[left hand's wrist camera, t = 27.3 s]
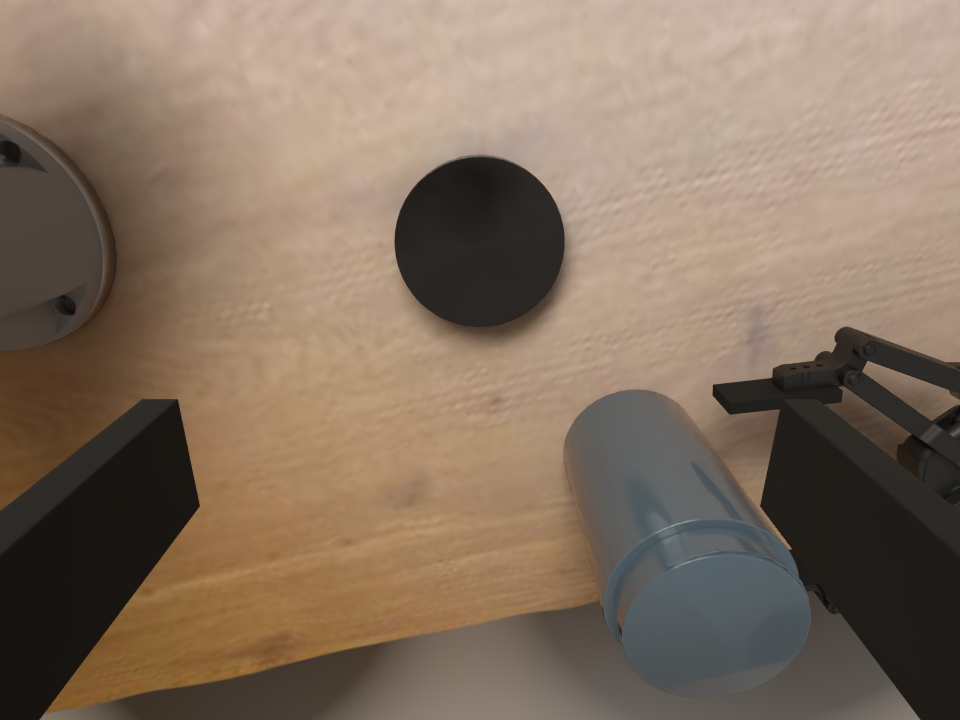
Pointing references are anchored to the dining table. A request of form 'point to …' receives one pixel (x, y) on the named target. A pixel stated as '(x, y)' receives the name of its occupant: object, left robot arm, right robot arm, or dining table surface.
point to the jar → (680, 551)
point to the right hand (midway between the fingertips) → (717, 492)
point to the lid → (479, 241)
